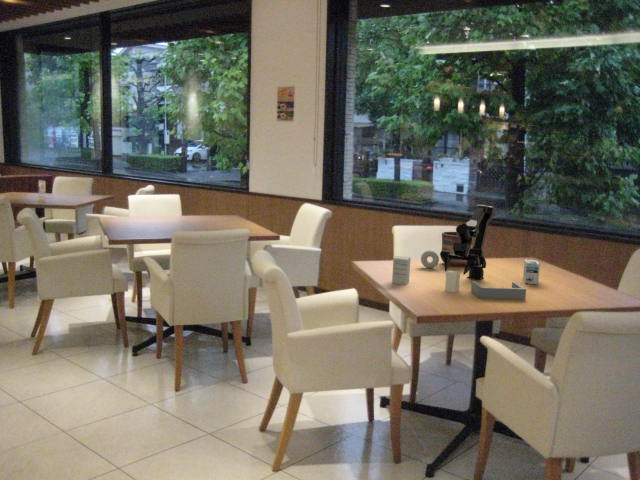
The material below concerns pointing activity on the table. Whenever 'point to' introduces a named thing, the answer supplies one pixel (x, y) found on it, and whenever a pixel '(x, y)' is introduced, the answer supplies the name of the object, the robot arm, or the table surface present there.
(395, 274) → the supplement box
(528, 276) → the light bulb box
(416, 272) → the table surface
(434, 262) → the grey ring
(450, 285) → the cream block
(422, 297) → the table surface
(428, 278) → the table surface
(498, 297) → the open-front crate
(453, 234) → the pottery
